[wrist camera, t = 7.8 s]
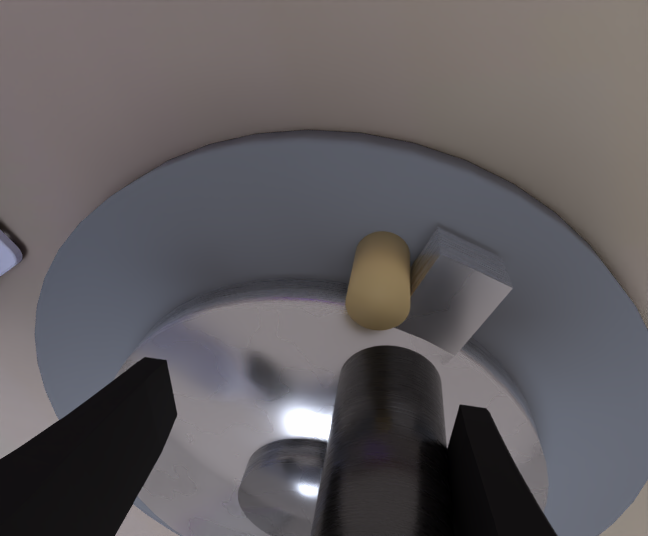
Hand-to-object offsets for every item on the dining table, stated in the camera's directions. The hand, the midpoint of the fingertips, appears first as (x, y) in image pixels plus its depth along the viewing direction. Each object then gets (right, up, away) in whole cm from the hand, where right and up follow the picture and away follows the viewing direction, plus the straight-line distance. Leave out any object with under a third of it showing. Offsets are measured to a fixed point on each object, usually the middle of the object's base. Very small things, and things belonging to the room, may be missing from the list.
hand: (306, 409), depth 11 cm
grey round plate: (+1, -3, +8) cm, 8 cm away
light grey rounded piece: (+1, -3, +6) cm, 6 cm away
